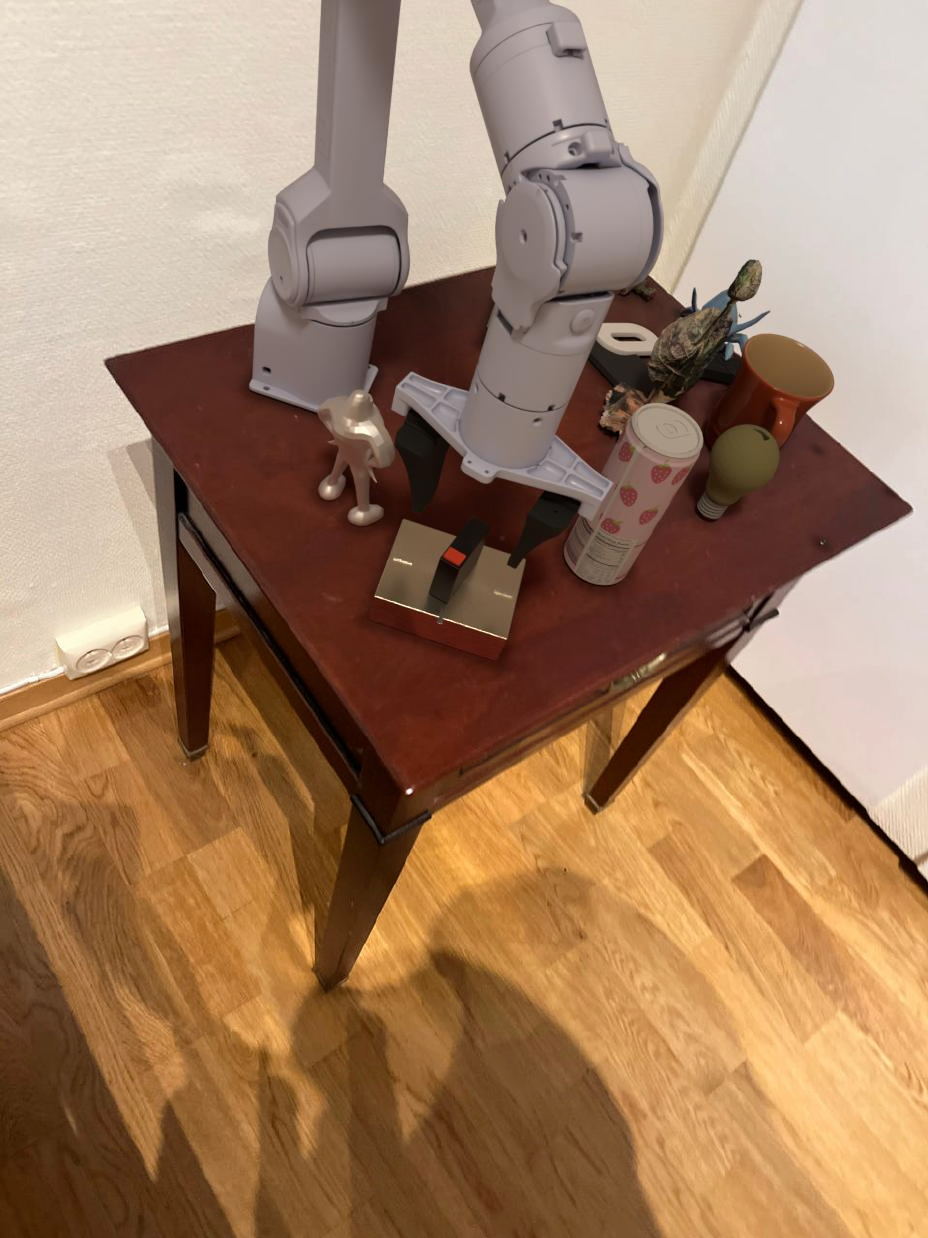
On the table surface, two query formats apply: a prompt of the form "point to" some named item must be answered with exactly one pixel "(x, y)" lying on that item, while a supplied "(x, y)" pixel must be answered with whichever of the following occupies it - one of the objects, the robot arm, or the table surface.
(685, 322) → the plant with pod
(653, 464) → the beverage can
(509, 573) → the panel
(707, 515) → the light bulb
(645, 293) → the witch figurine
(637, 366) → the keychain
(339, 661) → the table surface
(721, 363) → the figurine
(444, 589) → the knob
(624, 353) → the chain link
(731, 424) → the mug
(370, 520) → the figurine
